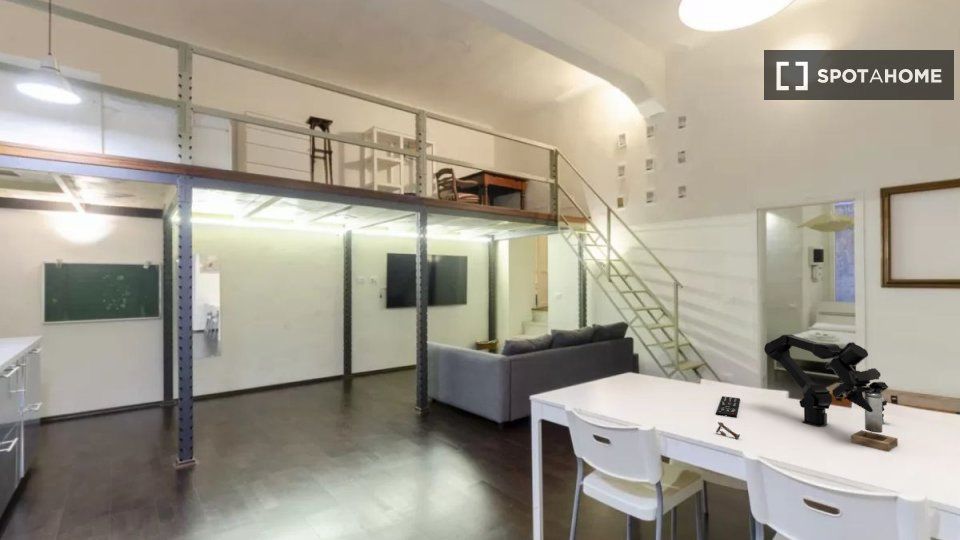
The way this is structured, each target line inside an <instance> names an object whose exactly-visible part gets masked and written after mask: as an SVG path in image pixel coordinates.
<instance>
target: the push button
mask: <svg viewBox="0 0 960 540" xmlns="http://www.w3.org/2000/svg"><path fill="white" fill-rule="evenodd" d="M887 403H888V400H885V398H884V397H882V404H883V407H885V406H887V405H888V404H887ZM884 416H885V414H884V413H882V424H884V422H885V419H884Z"/></svg>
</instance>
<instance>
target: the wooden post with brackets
mask: <svg viewBox="0 0 960 540" xmlns="http://www.w3.org/2000/svg"><path fill="white" fill-rule="evenodd" d="M717 424H718V428H716V431H715V433H717V434H718V433H720V435H722V436H725V437H726V436H727V434H726V433H725V432H724V430H725V431H726V432H727V433H728V434H731V435H732V436H733V438H735V440H738V439H739V438H740V436H741V434H737V433H735V432H734V431H732V429H730V428H729V427H728V426H726V425H724V422H720V421H718V422H717ZM721 429H724V430H723V431H722V430H721Z"/></svg>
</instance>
